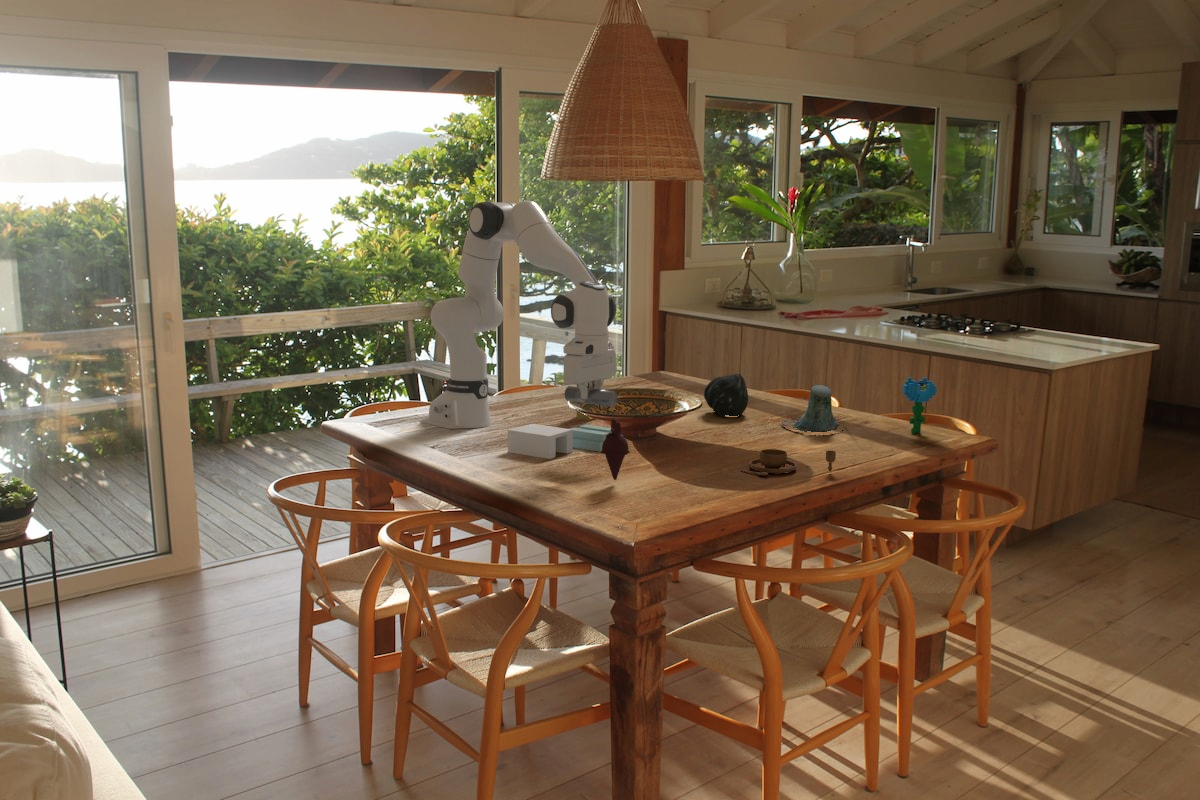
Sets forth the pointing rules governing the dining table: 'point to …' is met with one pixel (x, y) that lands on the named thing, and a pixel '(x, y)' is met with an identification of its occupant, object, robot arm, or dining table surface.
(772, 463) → the place setting
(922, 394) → the toy flower
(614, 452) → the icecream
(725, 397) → the squash
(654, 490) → the dining table surface
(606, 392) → the axle
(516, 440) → the white notched block
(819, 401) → the green grey mushroom
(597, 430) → the v block
